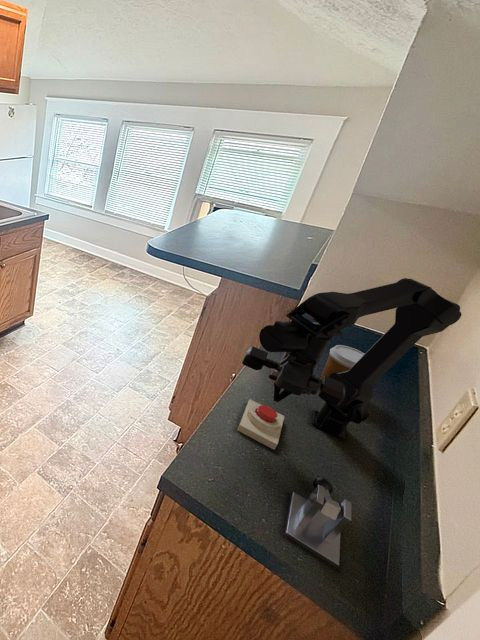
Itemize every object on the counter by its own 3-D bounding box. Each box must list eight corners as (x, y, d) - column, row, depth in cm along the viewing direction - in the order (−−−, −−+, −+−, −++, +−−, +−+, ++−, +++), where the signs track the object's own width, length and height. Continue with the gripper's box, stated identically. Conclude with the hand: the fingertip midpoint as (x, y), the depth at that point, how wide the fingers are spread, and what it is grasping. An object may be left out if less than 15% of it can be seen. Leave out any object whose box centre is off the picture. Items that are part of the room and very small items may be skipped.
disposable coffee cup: (312, 371, 117) (332, 339, 112) (351, 386, 112) (373, 354, 107) (311, 386, 111) (331, 354, 105) (352, 404, 106) (376, 371, 100)
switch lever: (309, 484, 81) (316, 471, 80) (327, 494, 79) (334, 481, 78) (315, 512, 70) (323, 497, 69) (337, 524, 68) (345, 509, 68)
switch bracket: (290, 495, 79) (310, 468, 75) (338, 522, 75) (362, 495, 71) (283, 535, 72) (305, 508, 67) (336, 569, 67) (362, 541, 63)
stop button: (257, 407, 96) (260, 402, 95) (275, 416, 94) (278, 411, 93) (254, 416, 93) (257, 411, 92) (273, 425, 91) (276, 420, 90)
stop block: (246, 405, 102) (252, 394, 100) (280, 422, 97) (287, 410, 95) (236, 431, 93) (242, 419, 91) (273, 451, 89) (281, 439, 87)
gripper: (251, 345, 82) (225, 397, 90) (360, 389, 72) (321, 445, 79) (260, 325, 90) (235, 375, 97) (360, 362, 80) (324, 415, 87)
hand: (275, 400), depth 90 cm, fingers closed
